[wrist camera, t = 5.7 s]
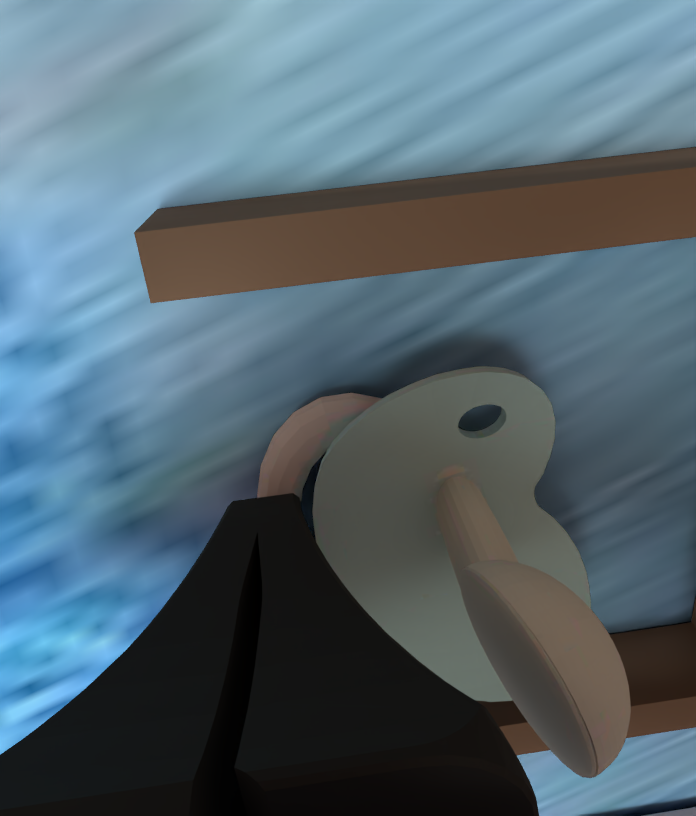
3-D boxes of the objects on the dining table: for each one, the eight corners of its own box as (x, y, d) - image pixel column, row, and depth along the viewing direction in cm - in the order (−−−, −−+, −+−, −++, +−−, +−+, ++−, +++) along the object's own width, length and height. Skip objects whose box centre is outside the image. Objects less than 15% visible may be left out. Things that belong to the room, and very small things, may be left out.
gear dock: (724, 646, 17) (788, 725, 15) (267, 715, 16) (266, 807, 14) (830, 131, 11) (954, 140, 9) (157, 209, 11) (129, 237, 9)
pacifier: (328, 660, 16) (574, 588, 15) (344, 979, 10) (733, 882, 10) (204, 397, 13) (510, 297, 12) (128, 651, 7) (692, 484, 7)
